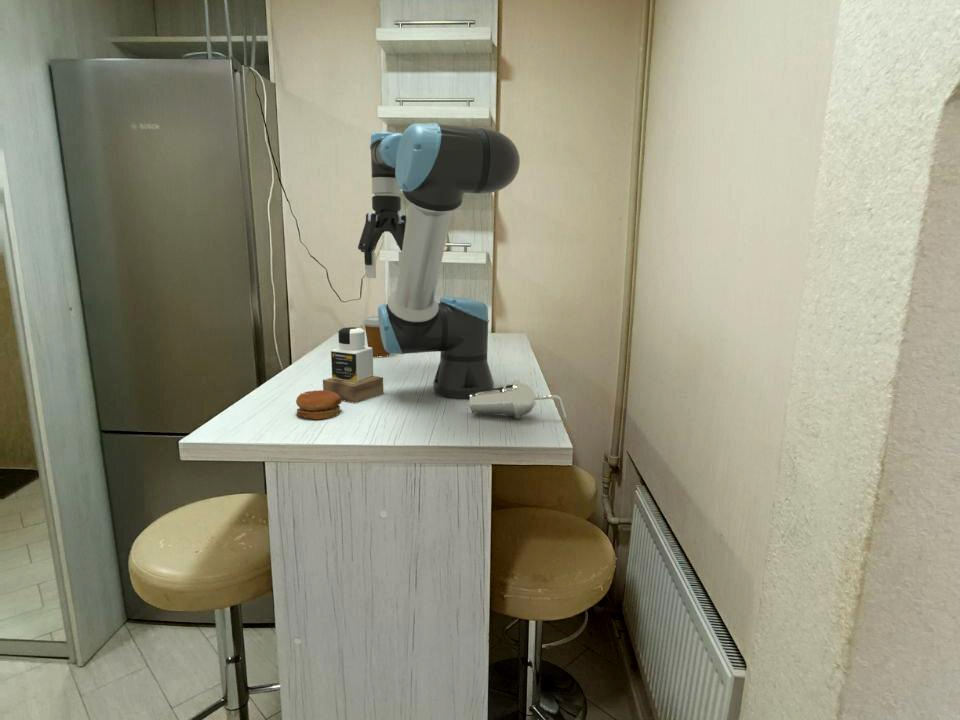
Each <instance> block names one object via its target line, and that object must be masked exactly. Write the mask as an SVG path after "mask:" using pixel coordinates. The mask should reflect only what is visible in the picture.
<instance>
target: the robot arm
mask: <svg viewBox="0 0 960 720" xmlns="http://www.w3.org/2000/svg"><path fill="white" fill-rule="evenodd" d="M369 148H370V159H371V160H370V162H371V163H370V165H371V166H370V168H371V193H372V194H373V195H372V197H371V209H372V211H374V213H372V212H371V213H370V212H369V213H365V222H364V226H363V228H362V229H363V230H362V232H361V236H360V238H359V239H360V240H359V243H358V246H357V249H358V250H359V251H360V253H364V264H365V278H367V279H376V278H377V272H376V271H377V269H376V268H377V267H376V264H377V263H376V252H374V250H375V248H376V246H377V244H378V242H379V240H380V238H381V237H382V235H383V234H384V233H385V232H389V233H390V234H391V235H392V237H393V239H394V241H395V242H396V244H397V246H398V248H399V249H400V251H398V273H397V274H398V276H397V282H396V289H395V290H394V291H393V292H391V293H390V294H389V296H388V299H387V304H386V303H383V304H380V305H379V306H378V309H377V316H378V319H379V327H380V333H381V338H382V343H383V346H384V349H385V350H386V351H387V352H388V353H389V355H395V354H396V355H399V354H400V355H406V354H420V353H435V352H436V353H437V352H440V356H439V357H440V361H439V364H438V367H437V370H436V373H435V376H434V380H433V383H432V384H433V387H432V388H433V389H432V390H433V392H434V393H435V394H436V395H438V396H442V397H444V398H450V399H451V398H452V399H459V400H461V399H462V400H463V399H465V400H467V399H469V400H470V393H471V392H473V393H474V392H476V391H481V390H486V389H492V388H495V383H494V378H493V376H492V372H491V369H490V366H489V363H488V349H489V348H488V347H489V346H488V344H489V343H488V341H489V340H488V339H489V322H490V320H489V309H488V305H487V304H486V303H485V302H483V301H480V300H476V299H471V298H465V297H456V296H441V297H440V299H439V302H438V301H437V299H436V297H435V295H436V291H437V286H438V281H439V278H440V277H439V276H440V271H441V267H442V261H443V256H444V252H445V251H444V250H445V247H446V243H447V237H448V232H449V229H450V228H449V227H450V223H451V218H452V213H453V212H455V211H457V210H458V209H459V208H460V207H462V203H463V199H464V195H465V194H476V195H477V194H479V195H480V194H491V193H495V192H499V191H502V190H503V189H505V188H506V187H508V186H509V185H511V184H512V182H513V181H514V180H515V179H516V177H517V175H518V172H519V169H520V162H521V159H520V154H519V151H518V149H517V146H516V145H515V143H514V142H513V141H512V140H511V139H510V138H509V137H508V136H506V135H505V134H503V133H502V132H499V131H496V130H493V129H491V128H490V129H489V128H479V127H471V126H470V127H469V126H459V125H458V126H456V125H448V124H438V123H436V122H429V123H413V124H411V125H409V126H408V127H407V128H406V129H405V130H404V132H403V133H399V132H397V133H396V132H391V131H377V132H373V133H372V134H371V136H370V145H369ZM401 191H402V192H401ZM401 194H402V196H403V198H404V199H405V201H406V202H407V203H408V207H407V213H406V215H404V214H399V212H400V211H401V209H402V207H401V206H402V203H401V200H402V198H401V197H400V195H401Z"/></svg>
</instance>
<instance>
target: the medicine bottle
mask: <svg viewBox="0 0 960 720" xmlns="http://www.w3.org/2000/svg"><path fill="white" fill-rule="evenodd" d="M337 332H338V333H337V334H338V347H337V348H334V349H331V350H330V357H331V359H330V360H331V378H333V379H337V380H344V381H351V382H358V381H361V380H364V379H366V378H369V377H371V376H374V357H373V348H372V347H368V346H365V345H366V339H365V338H366V337H365V336H366V330H365V329H363V328H361V327H355V326H353V327H348V326H347V327H343V328H340V329H339V330H338V331H337Z"/></svg>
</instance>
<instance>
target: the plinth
mask: <svg viewBox="0 0 960 720" xmlns="http://www.w3.org/2000/svg"><path fill="white" fill-rule="evenodd" d="M322 390H327V391H332V392H335V393H337V394H338V395H339V396H340V397H341V400H342V401H343V400H345V401H344V402H347V401H349V403H352V402H353V403H352V404H356V402H357V403H359V401H360V402H361V401H366V400H368V399H370V398H373V396H374V397H376V395H377V396H380V395H383V394H384V377H383V376H377V375H373V376H371V377H369V378H366V379H364V380H361V381H358V382H351V381H344V380H337V379H333V378H332V377H329V378H325V379H322ZM382 393H383V394H382ZM379 394H380V395H379Z"/></svg>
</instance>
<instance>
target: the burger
mask: <svg viewBox="0 0 960 720" xmlns="http://www.w3.org/2000/svg"><path fill="white" fill-rule="evenodd" d="M342 401H343V400H341V397H340V396H339V395H338V394H337V393H335V392H332V391H327V390H323V389H321V390H310V391H305V392H301V393H300V394H299V395H298V396H297V398H296V400H295V403H296V405H297V407H298V408H297V409H296V411H297V412H296V416H298V417H299V418H305V419H309V420H326V419H331V418H334V417H337V416H338V415H340V412H341V406H340V405H341V403H342ZM337 414H338V415H337ZM336 415H337V416H336ZM333 416H334V417H333ZM330 417H331V418H330ZM325 418H326V419H325Z"/></svg>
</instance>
